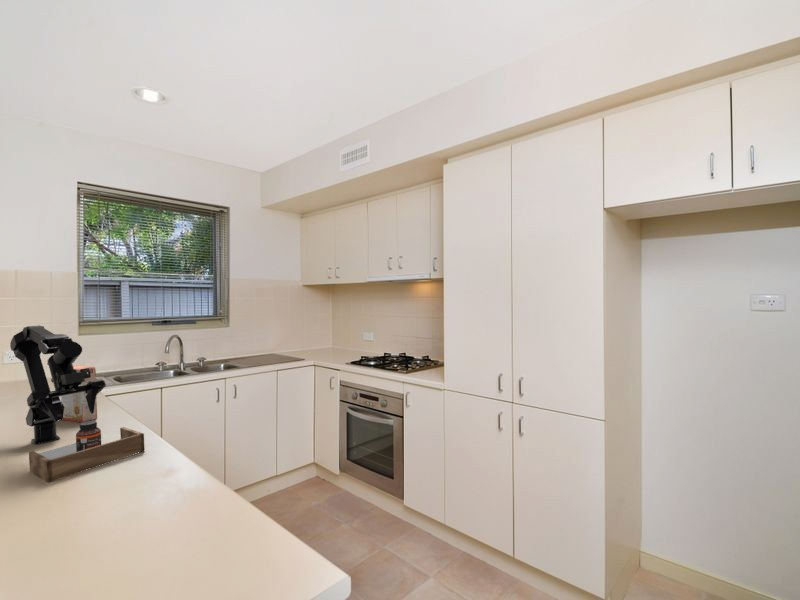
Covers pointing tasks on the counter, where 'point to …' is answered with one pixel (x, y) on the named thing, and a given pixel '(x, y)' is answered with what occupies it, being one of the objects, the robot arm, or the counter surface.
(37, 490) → the counter surface
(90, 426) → the supplement bottle
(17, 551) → the counter surface
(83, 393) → the cracker box
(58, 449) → the mat
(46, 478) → the open wooden enclosure
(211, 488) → the counter surface
